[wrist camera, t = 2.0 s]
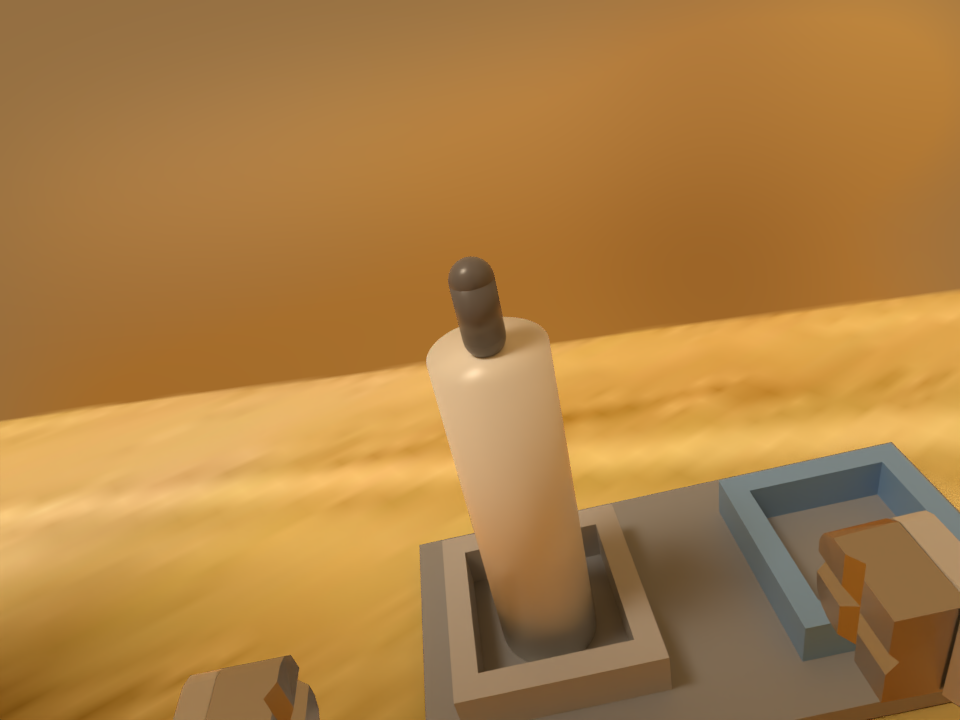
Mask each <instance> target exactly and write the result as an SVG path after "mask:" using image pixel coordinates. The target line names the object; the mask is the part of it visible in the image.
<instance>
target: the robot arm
mask: <svg viewBox="0 0 960 720" xmlns="http://www.w3.org/2000/svg"><path fill="white" fill-rule="evenodd" d="M818 551H819V553H820V554H821V556H822V557H823V559H824V560H825V563H824V564H823V565H822V566H821V567H820V568H819V570H818V571H817V590H818V594H819V598H820V601H821V605H822V607H823V609H824V611H825V614H826V616H827V618H828V620H829V621H830V623H831V625H832V626H833V628H834V630H835V631H836V633H837V634H838V635H840V636H842V637H843V638H845V639H847V640H848V641H850V642H852V643H854V644H855V645H856V648H855V658H854V661H855V663H856V665H857V666H858V668H859V669H860V671H861V672H862V674H863V676H864V677H865V679H866V680H867V682H868V683H869V685H870V686H871V688H872V690H873V691H874V693H875V694H876V696H877V697H878V699H879V701H880V702H881V703H884V702H889V701H894V700H899V699H905V698H910V697H915V696H921V695H926V694H931V693H936V692H942V691H943V692H942V695H943V696H944V697H946V698H947V699H949V700H950V701H952V702H953V703H954V704H956V705H957V706H959V707H960V541H959V540H958V539H957V538H956V537H955V536H954V535H953V534H952V533H951V532H950V531H949V530H948V529H947V528H946V526H945V525H944V524H943V523H942V522H941V521H940V520H939V519H938V518H937V517H936V516H935V515H934V514H932V513H930V512H928V511H926V510H925V511H919V512H915V513H910V514H906V515H902V516H897V517H893V518H890V519H888V518H885V519H881V520H877V521H872V522H868V523H864V524H860V525H856V526H852V527H848V528H843V529H839V530H835V531H831V532H827V533H823V535H822V536H821V538H820V539H819V549H818ZM298 672H299V667H298V665H297V664H296V662H295V661H294V659H293V658H292V656H291V655H289V656H284V657H279V658H273V659H268V660H263V661H258V662H253V663H248V664H243V665H238V666H233V667H228V668H223V669H218V670H213V671H209V672H204V673H200V674H195V675H190V677H189V678H188V680H187V681H186V683H185V684H184V686H183V687H182V691H181V694H180V697H179V701H178V704H177V708H176V711H175V714H174V718H173V720H320V719H319V708H318V705H317V702H316V698H315V695H314V693H313V691H312V689H311V688H310V686H309V685H308V684H305V683H303V682H301V681H299V680H298Z"/></svg>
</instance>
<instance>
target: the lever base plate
mask: <svg viewBox="0 0 960 720" xmlns="http://www.w3.org/2000/svg"><path fill="white" fill-rule="evenodd" d="M925 510H926V511H928V512H930V513H932V514H934V515H935V516H936V517H937V518H938V519H939V520H940V521H941V522H942V523H943V524H944V525H945V526H946V528H947V529H948V530H949V531H950V532H951V533H952V534H953V535H954V536H955V537H956V538H957V539H958V540H959V541H960V512H959V511H958V510H957V509H956V508H955V507H954V506H953V505H952V504H951V503H950V502H949V501H948V500H947V499H946V498H945V497H944V496H943V495H942V493H941V492H940V491H939V490H938V489H937V488H936V487H935V486H934V485H933V484H932V483H931V482H930V481H929V480H928V479H927V478H926V477H925V476H924V475H923V474H922V473H921V472H920V471H919V470H918V469H917V468H916V467H915V466H914V465H913V464H912V463H911V462H910V460H909V459H908V458H907V457H906V456H905V455H904V454H903V453H902V452H901V451H900V450H899V449H898V448H897V447H896V446H895V445H894V444H893V443H892V442H890V443H885V444H881V445H876V446H871V447H867V448H862V449H858V450H853V451H849V452H844V453H839V454H835V455H830V456H826V457H821V458H816V459H812V460H807V461H803V462H798V463H793V464H789V465H784V466H780V467H775V468H771V469H766V470H761V471H757V472H752V473H748V474H743V475H738V476H734V477H729V478H725V479H720V480H716V481H711V482H706V483H702V484H697V485H693V486H688V487H683V488H679V489H674V490H670V491H665V492H661V493H656V494H651V495H647V496H642V497H638V498H633V499H628V500H624V501H619V502H615V503H610V504H606V505H601V506H596V507H592V508H587V509H583V510H578V515H579V521H580V527H581V533H582V539H583V545H584V551H585V557H586V563H587V569H588V575H589V581H590V586H591V592H592V598H593V604H594V610H595V616H596V629H595V633H594V636H593V638H592V640H591V642H590V643H589V645H588V646H587V647H586V649H585V650H584V651H579V652H575V653H570V654H565V655H561V656H556V657H551V658H547V659H542V660H537V661H533V662H527V661H525V660H523V659H521V658H520V657H518V656H517V655H516V654H515V653H513V652H512V650H511V649H510V648H509V646H508V645H507V643H506V641H505V638H504V635H503V631H502V628H501V624H500V621H499V617H498V614H497V610H496V607H495V603H494V600H493V596H492V593H491V589H490V586H489V582H488V579H487V575H486V572H485V568H484V565H483V561H482V558H481V554H480V551H479V547H478V544H477V540H476V537H475V533H473V534H468V535H463V536H459V537H454V538H450V539H445V540H440V541H436V542H431V543H427V544H422V545H420V570H421V598H422V626H423V654H424V682H425V711H426V720H868V719H872V718H877V717H882V716H887V715H891V714H896V713H901V712H906V711H910V710H915V709H920V708H925V707H929V706H934V705H939V704H944V703H948V702H952V701H950V700H949V699H947V698H946V697H944V696H943V695H942V692H943V691H942V692H936V693H931V694H926V695H921V696H915V697H910V698H905V699H899V700H894V701H889V702H884V703H881V702H880V701H879V699H878V697H877V696H876V694H875V693H874V691H873V690H872V688H871V686H870V685H869V683H868V682H867V680H866V679H865V677H864V676H863V674H862V672H861V671H860V669H859V668H858V666H857V665H856V663H855V661H854V658H855V648H856V645H855V644H854V643H852V642H850V641H848V640H847V639H845V638H843V637H842V636H840V635H838V634H837V633H836V631H835V630H834V628H833V626H832V625H831V623H830V621H829V620H828V618H827V616H826V614H825V611H824V609H823V607H822V605H821V601H820V598H819V594H818V590H817V571H818V570H819V568H820V567H821V566H822V565H823V564H824V563H825V560H824V559H823V557H822V556H821V554H820V553H819V551H818V549H819V539H820V538H821V536H822V535H823V533H827V532H831V531H835V530H839V529H843V528H848V527H852V526H856V525H860V524H864V523H868V522H872V521H877V520H881V519H885V518H888V519H890V518H893V517H897V516H902V515H906V514H910V513H915V512H919V511H925Z"/></svg>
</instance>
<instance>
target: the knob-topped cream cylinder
mask: <svg viewBox="0 0 960 720" xmlns="http://www.w3.org/2000/svg"><path fill="white" fill-rule="evenodd" d="M448 282H449V288H450V292H451V296H452V300H453V304H454V308H455V312H456V316H457V320H458V325H459V327H458V328H456V329H454V330H452V331H450V332H449V333H447V334H445V335H444V336H443V337H441V338H440V339H439V340H438V341H437V342H436V343H435V344H434V345H433V346H432V347H431V349H430V351H429V353H428V355H427V359H426V364H427V369H428V372H429V376H430V379H431V383H432V386H433V390H434V393H435V397H436V400H437V404H438V407H439V411H440V414H441V418H442V421H443V425H444V428H445V432H446V435H447V439H448V442H449V446H450V449H451V453H452V456H453V460H454V463H455V467H456V470H457V474H458V477H459V481H460V484H461V488H462V491H463V495H464V498H465V502H466V505H467V509H468V512H469V516H470V519H471V523H472V526H473V530H474V533H475V537H476V540H477V544H478V547H479V551H480V554H481V558H482V561H483V565H484V568H485V572H486V575H487V579H488V582H489V586H490V589H491V593H492V596H493V600H494V603H495V607H496V610H497V614H498V617H499V621H500V624H501V628H502V631H503V635H504V638H505V641H506V643H507V645H508V646H509V648H510V649H511V650H512V652H513V653H515V654H516V655H517V656H518V657H520V658H521V659H523V660H525V661H527V662H533V661H537V660H542V659H547V658H551V657H556V656H561V655H565V654H570V653H575V652H579V651H584V650H585V649H586V647H587V646H588V645H589V643H590V642H591V640H592V638H593V636H594V633H595V629H596V616H595V610H594V604H593V598H592V592H591V586H590V581H589V575H588V569H587V563H586V557H585V551H584V545H583V539H582V533H581V527H580V521H579V515H578V509H577V503H576V497H575V491H574V485H573V479H572V473H571V467H570V461H569V455H568V449H567V443H566V437H565V431H564V425H563V419H562V414H561V408H560V402H559V396H558V390H557V384H556V378H555V372H554V366H553V360H552V354H551V348H550V342H549V337H548V334H547V332H546V331H545V330H544V329H543V328H542V327H541V326H540V325H538V324H536V323H534V322H532V321H529V320H526V319H522V318H515V317H503V316H502V311H501V306H500V301H499V296H498V291H497V286H496V282H495V277H494V273H493V270H492V269H491V267H490V265H489V264H488V263H487V262H485V261H484V260H483V259H480V258H478V257H465V258H462V259H460V260H459V261H457V262H456V263H455V264H454V265H453V266H452V268H451V270H450V273H449V279H448Z"/></svg>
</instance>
